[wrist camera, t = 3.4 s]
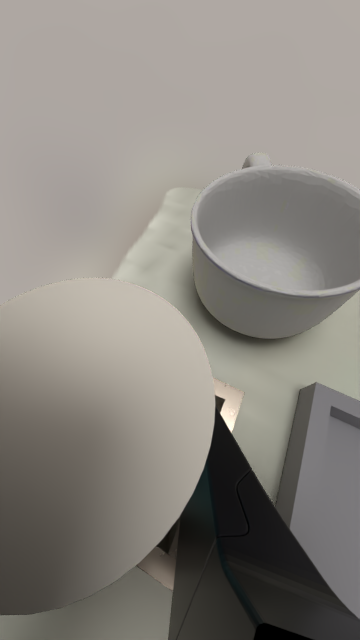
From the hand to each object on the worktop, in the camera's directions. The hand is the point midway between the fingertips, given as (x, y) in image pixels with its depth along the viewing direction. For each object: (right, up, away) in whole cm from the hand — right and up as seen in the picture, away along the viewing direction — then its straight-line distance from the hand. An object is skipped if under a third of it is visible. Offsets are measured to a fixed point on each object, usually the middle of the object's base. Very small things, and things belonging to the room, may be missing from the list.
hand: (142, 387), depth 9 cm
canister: (-1, -4, +5) cm, 7 cm away
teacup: (+8, +6, +11) cm, 15 cm away
